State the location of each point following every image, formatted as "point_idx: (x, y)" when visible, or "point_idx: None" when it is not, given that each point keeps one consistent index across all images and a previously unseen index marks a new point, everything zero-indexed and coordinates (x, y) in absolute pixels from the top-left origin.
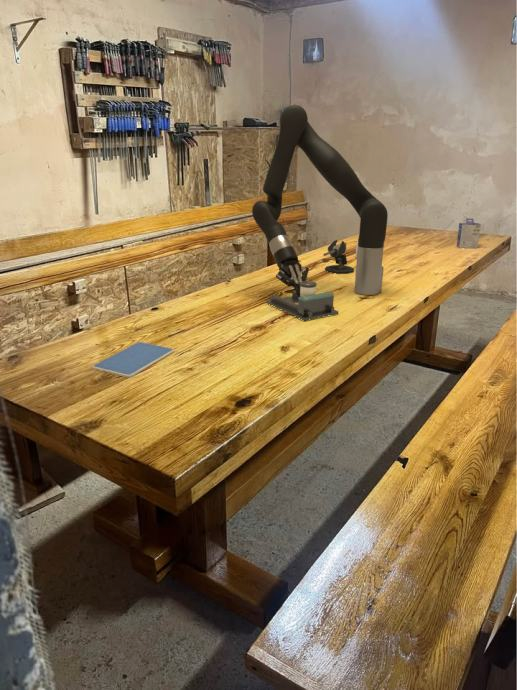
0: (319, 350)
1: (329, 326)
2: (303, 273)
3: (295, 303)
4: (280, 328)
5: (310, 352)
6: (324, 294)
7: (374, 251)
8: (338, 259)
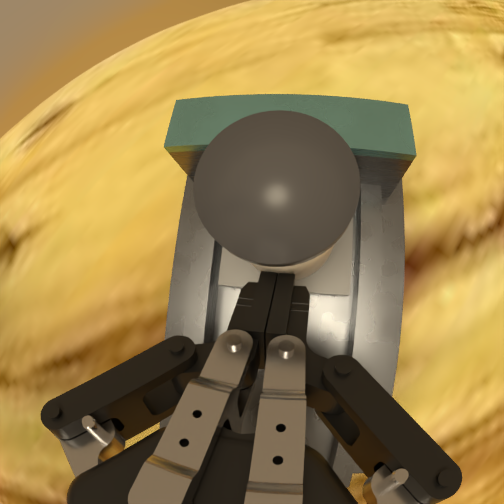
0: (445, 10)
1: (333, 64)
2: (114, 423)
3: (341, 285)
4: (497, 147)
5: (466, 17)
6: (225, 113)
7: None
8: None
